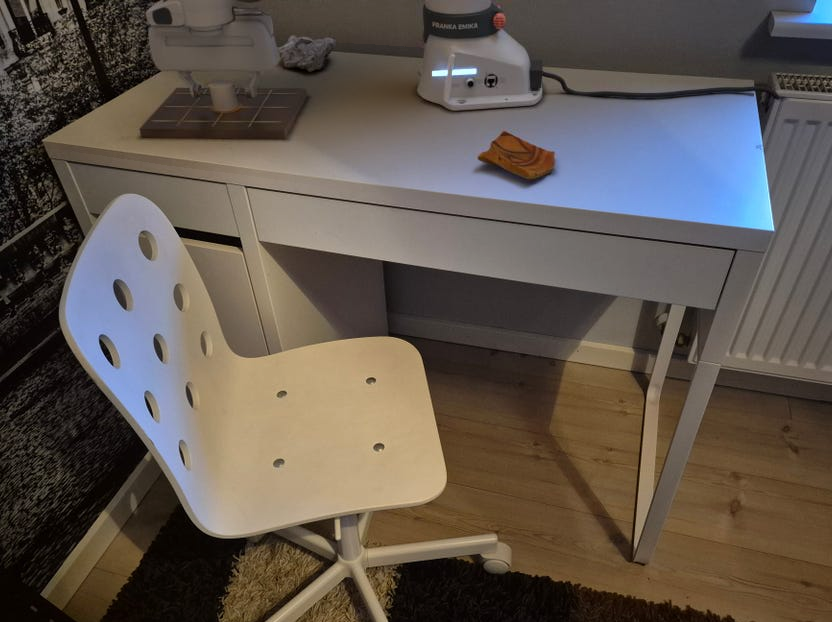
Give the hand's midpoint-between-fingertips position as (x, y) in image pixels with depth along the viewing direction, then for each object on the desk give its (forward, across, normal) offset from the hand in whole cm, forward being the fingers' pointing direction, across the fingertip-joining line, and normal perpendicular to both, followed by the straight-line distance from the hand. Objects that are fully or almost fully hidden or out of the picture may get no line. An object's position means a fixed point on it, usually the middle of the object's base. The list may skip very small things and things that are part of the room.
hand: (224, 96), depth 113 cm
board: (+3, 0, 0) cm, 3 cm away
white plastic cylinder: (+2, 0, 0) cm, 2 cm away
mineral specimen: (+4, -9, -26) cm, 28 cm away
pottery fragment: (+4, -49, +18) cm, 52 cm away
